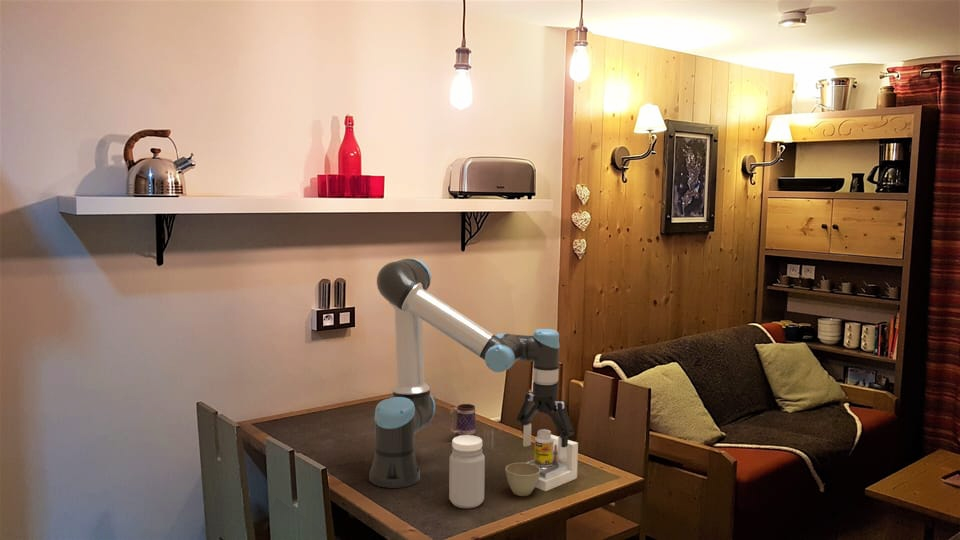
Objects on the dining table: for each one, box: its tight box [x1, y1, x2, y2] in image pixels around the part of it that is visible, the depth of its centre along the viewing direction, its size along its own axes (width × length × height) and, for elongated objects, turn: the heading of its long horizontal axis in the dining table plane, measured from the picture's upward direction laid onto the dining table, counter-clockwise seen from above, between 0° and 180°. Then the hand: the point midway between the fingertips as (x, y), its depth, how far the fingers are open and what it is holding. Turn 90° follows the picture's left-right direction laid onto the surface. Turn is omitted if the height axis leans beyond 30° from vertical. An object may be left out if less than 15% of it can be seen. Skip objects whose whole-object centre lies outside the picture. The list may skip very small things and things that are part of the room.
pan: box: [525, 459, 567, 480], centre depth 229 cm, size 10×10×2 cm
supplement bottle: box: [533, 428, 553, 467], centre depth 228 cm, size 6×6×10 cm
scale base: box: [535, 434, 579, 492], centre depth 230 cm, size 15×12×11 cm
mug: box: [449, 403, 477, 437], centre depth 264 cm, size 10×7×12 cm
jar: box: [448, 435, 486, 509], centre depth 212 cm, size 10×10×18 cm
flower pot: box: [505, 462, 540, 497], centre depth 219 cm, size 10×10×7 cm
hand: (544, 451), depth 228 cm, fingers open, 13 cm apart
